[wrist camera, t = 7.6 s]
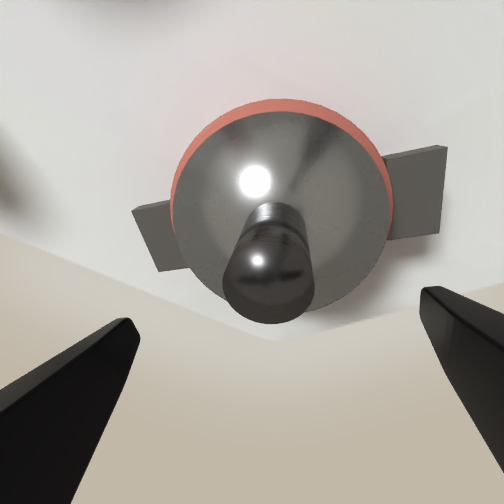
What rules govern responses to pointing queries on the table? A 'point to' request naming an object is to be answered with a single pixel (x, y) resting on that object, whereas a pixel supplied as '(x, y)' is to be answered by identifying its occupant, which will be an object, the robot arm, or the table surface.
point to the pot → (391, 166)
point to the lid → (280, 214)
